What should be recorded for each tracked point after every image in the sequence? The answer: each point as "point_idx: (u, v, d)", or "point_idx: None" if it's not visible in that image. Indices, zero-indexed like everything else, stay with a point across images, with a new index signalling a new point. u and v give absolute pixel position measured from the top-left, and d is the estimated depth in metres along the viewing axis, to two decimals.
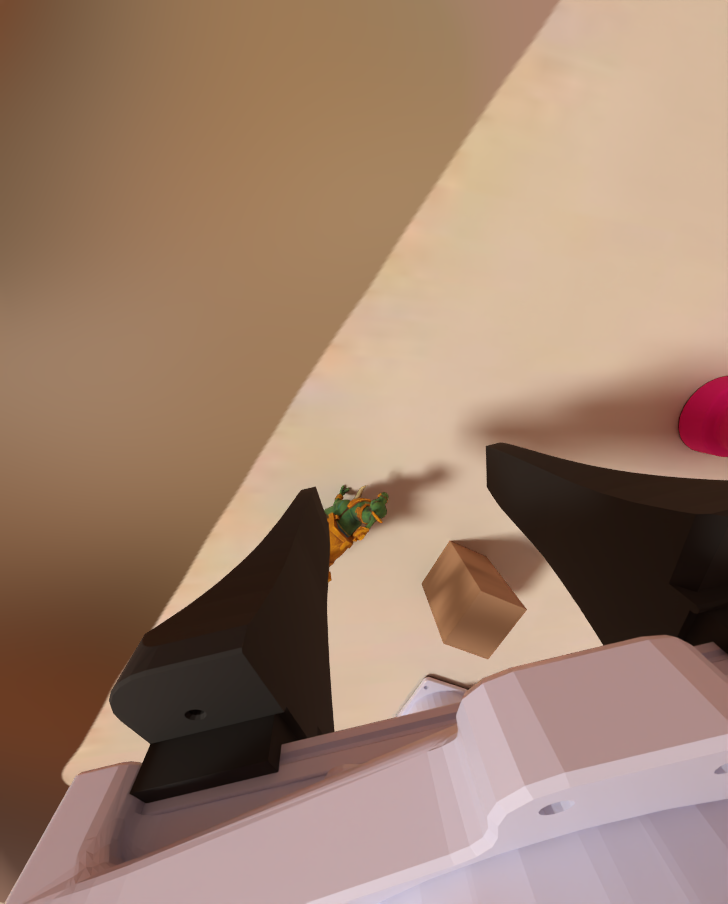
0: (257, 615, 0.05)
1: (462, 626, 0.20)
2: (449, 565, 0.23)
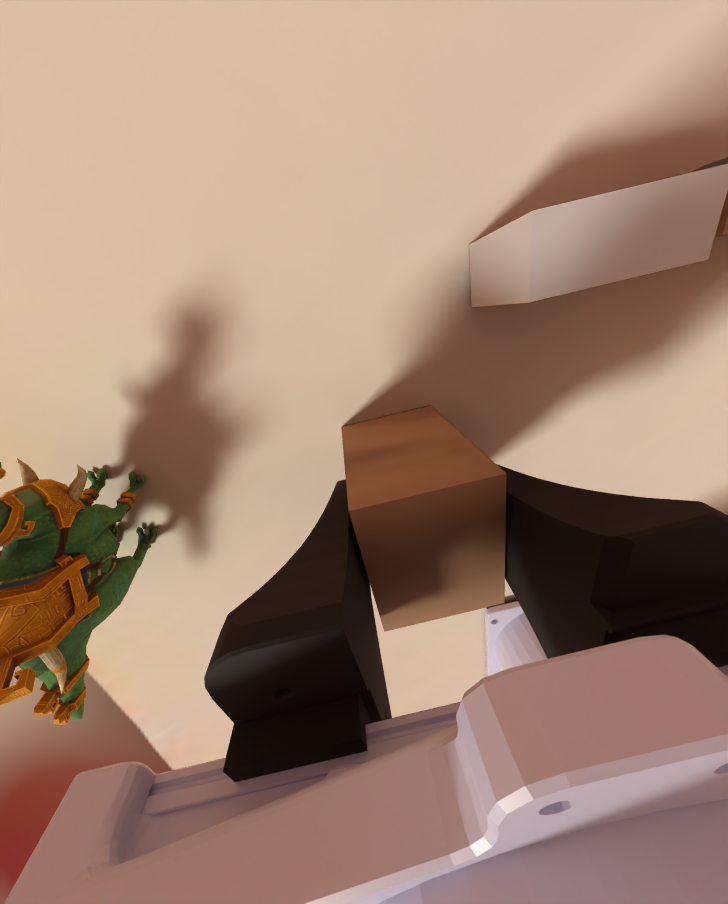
0: (344, 595, 0.05)
1: (389, 589, 0.08)
2: None
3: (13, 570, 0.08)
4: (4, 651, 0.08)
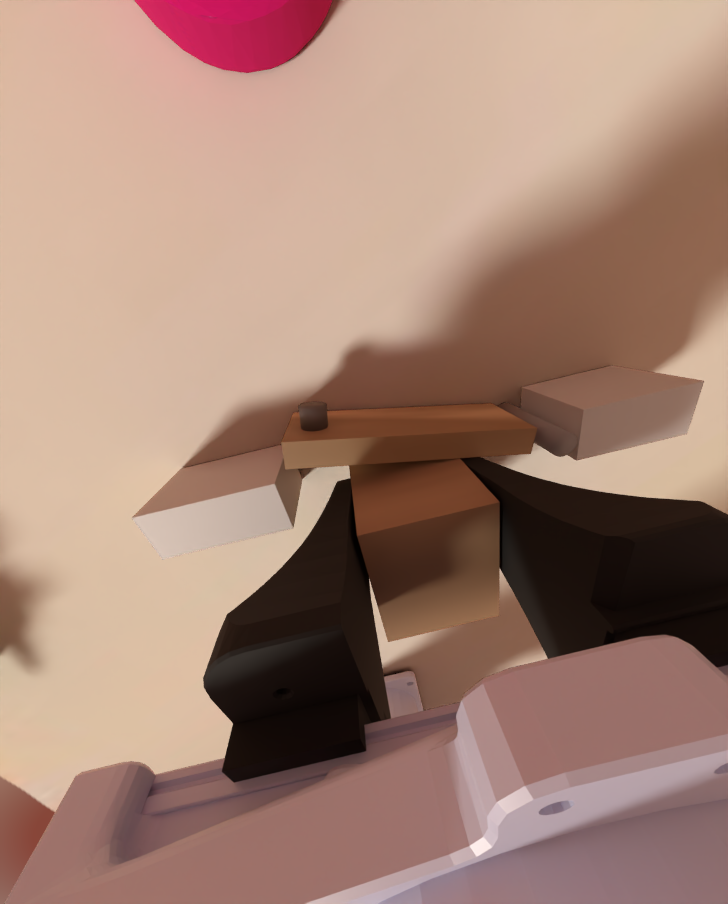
0: (343, 595, 0.05)
1: (392, 604, 0.09)
2: None
3: None
4: None
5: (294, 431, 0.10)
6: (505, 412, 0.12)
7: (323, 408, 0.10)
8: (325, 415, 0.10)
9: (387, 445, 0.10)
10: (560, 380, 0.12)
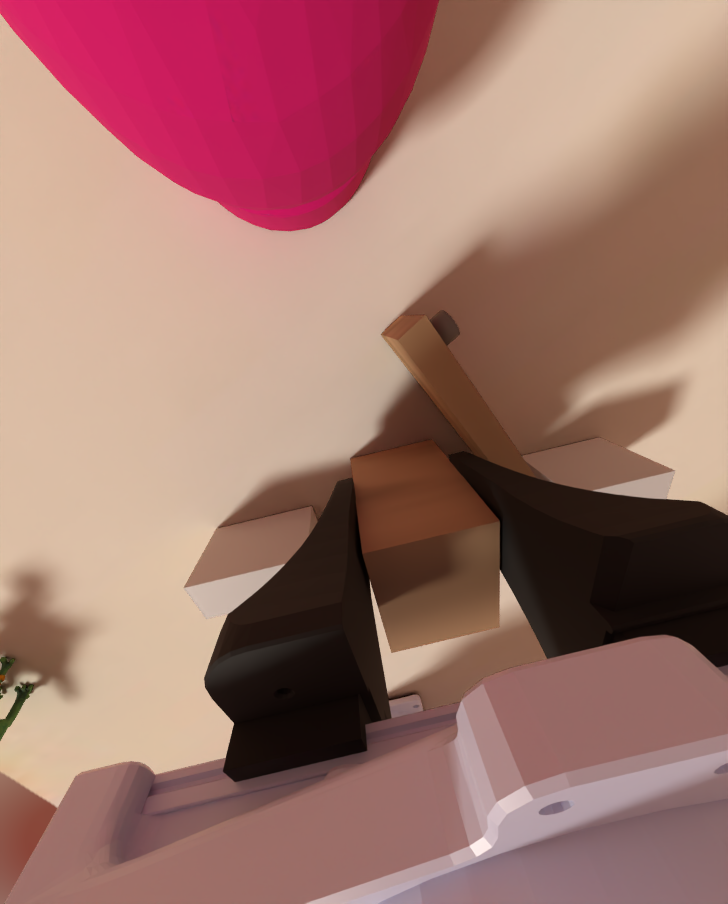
0: (344, 594, 0.05)
1: (396, 617, 0.09)
2: None
3: None
4: None
5: None
6: None
7: (459, 333, 0.09)
8: (451, 341, 0.09)
9: (477, 410, 0.09)
10: (554, 452, 0.14)
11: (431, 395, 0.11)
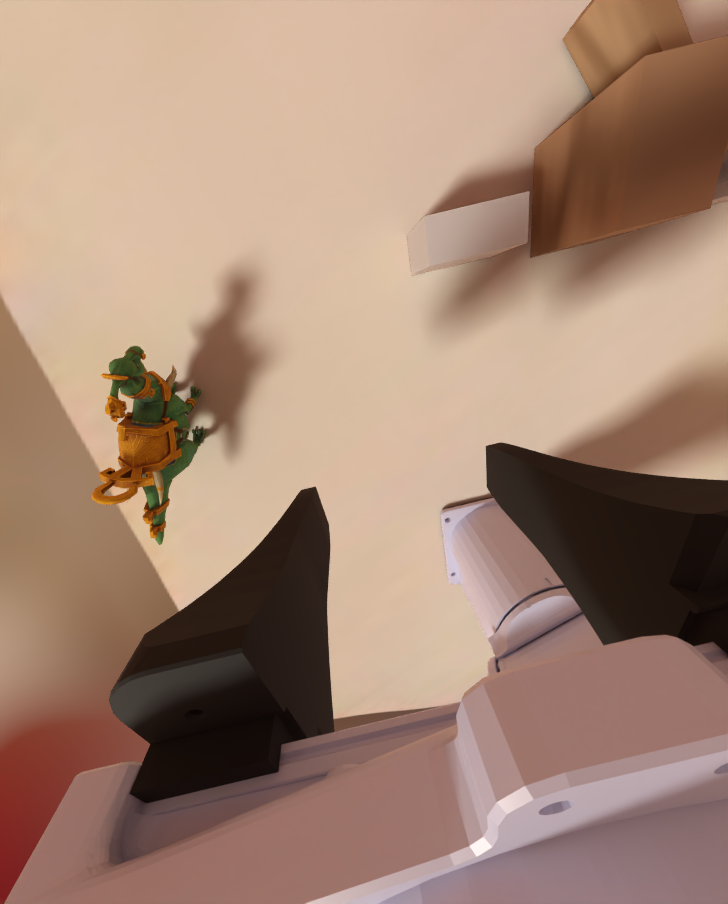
0: (257, 615, 0.05)
1: (639, 169, 0.11)
2: (557, 162, 0.14)
3: (143, 417, 0.14)
4: (138, 463, 0.14)
5: None
6: None
7: None
8: None
9: (678, 39, 0.12)
10: None
11: (613, 80, 0.13)
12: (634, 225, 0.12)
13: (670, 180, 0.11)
